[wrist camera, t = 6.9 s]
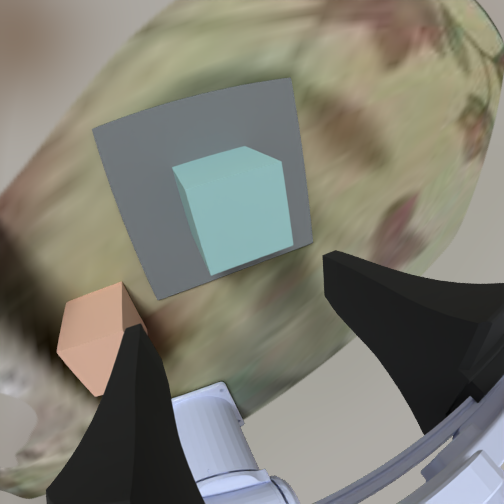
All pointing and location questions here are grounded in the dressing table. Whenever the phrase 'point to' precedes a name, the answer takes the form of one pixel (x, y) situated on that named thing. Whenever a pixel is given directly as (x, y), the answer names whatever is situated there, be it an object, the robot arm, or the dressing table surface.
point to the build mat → (192, 148)
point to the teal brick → (235, 206)
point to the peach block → (96, 334)
